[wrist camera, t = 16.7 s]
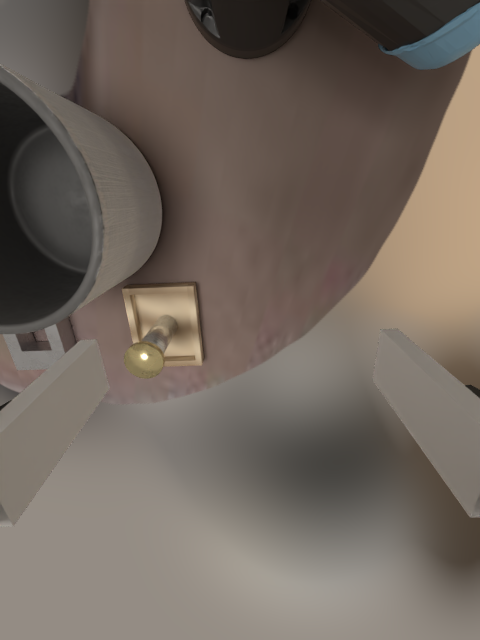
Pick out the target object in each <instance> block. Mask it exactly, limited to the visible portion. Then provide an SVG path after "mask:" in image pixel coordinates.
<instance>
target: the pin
mask: <svg viewBox="0 0 480 640" xmlns="http://www.w3.org/2000/svg"><path fill="white" fill-rule="evenodd" d="M177 327H178V325H177V322H176V320H175V319H174V318H173V317H171V316H169V315H163V316H160V317H159V318H158V319H157V320H156V322H155V323H154V325H153V326H152V327H151V329H150V330H149V331H148V333H147V334H146V335H145V337H144V338H143V339H142V341H140V342H136V343H134V344H133V345H131V346H130V348H129V349H128V350H127V351H126V353H125V356H124V363H125V366H126V368H127V369H128V371H129V372H130V373H132V374H133V375H135V376H137V377H139V378H152V377H155V376H157V375H158V374H159V373H160V372H161V370H162V368H163V366H164V363H165V356H164V353H165V351H166V349H167V347H168V345H169V343H170V341H171V340H172V338H173V336H174V334H175V332H176V330H177Z"/></svg>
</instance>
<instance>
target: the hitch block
mask: <svg viewBox="0 0 480 640" xmlns="http://www.w3.org/2000/svg"><path fill="white" fill-rule="evenodd" d="M44 329H45V331H46V334H47V337H48V340H49V341H39V342H36V340H35V337H34V335H33V332H29V333H22V334H3V336H4V339H5V341H6V343H7V346H8V348H9V351H10V353H11V356H12V358H13V361H14V363H15V366H16V368H17V370H35V369H48V368H49V367H51V366H52V365H53V364H54V363H55V362H56V361H57V360H59V359H60V358H61V357H62V356H63V355H64V354H65V353H67V352H68V351H69V350H70V349H71V348H72V347H73V346H75V345H76V340H75V337H74V334H73V330H72V327H71V324H70V320H69V317H67V318H65V319H64V320H62V321H60V322H58V323H56V324H54V325H52V326H50V327H47V328H44Z"/></svg>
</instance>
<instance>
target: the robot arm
mask: <svg viewBox="0 0 480 640" xmlns="http://www.w3.org/2000/svg"><path fill="white" fill-rule="evenodd" d="M310 1H311V0H185V3H186V6H187V9H188V11H189V14H190V16H191V18H192V20H193V22H194V23H195V25H196V27H197V28H198V30H199V31H200V32H201V34H202V35H203V36H204V37H205V38H206V40H207V41H208V42H209V43H211V44H212V45H213V46H214V47H216V48H217V49H218V50H220V51H222V52H224V53H226V54H228V55H231V56H234V57H238V58H256V57H260V56H264V55H266V54H269V53H271V52H273V51H274V50H276V49H277V48H279V47H280V46H281V45H283V44H284V43H285V42H286V41H287V40H288V39H289V38H290V37H291V36H292V35H293V33H294V32H295V31H296V29H297V28H298V26H299V25H300V23H301V21H302V20H303V18H304V16H305V14H306V12H307V9H308V7H309V4H310ZM320 1H322V2H323V3H324V4H326V5H327V6H328V7H330V8H331V9H332V10H334V11H335V12H336V13H338V14H339V15H340V16H342V17H343V18H345V19H346V20H347V21H349V22H350V23H351V24H353V25H354V26H355V27H357V28H358V29H359V30H361V31H362V32H363V33H365V34H366V35H368V36H369V37H370V38H372V39H373V40H374V41H376V42H377V43H378V47H379V49H380V50H381V51H382V52H384V53H385V54H390V55H395V56H396V57H398V58H400V59H401V60H403V61H404V62H406V63H407V64H409V65H410V66H412V67H414V68H416V69H419V70H424V69H428V70H429V69H436V68H440V67H442V66H445V65H447V64H449V63H451V62H453V61H455V60H457V59H458V58H460V57H462V56H463V55H465V54H466V53H468V52H469V51H471V50H472V49H474V48H475V47H476V46H478V45H479V44H480V0H320ZM372 380H373V382H374V383H375V384H376V385H377V387H378V388H379V390H380V391H381V393H382V394H383V396H384V397H385V398H386V400H387V401H388V403H389V404H390V405H391V407H392V408H393V410H394V411H395V413H396V414H397V415H398V416H399V418H400V420H401V421H402V422H403V424H404V425H405V426H406V428H407V429H408V431H409V432H410V434H411V435H412V436H413V438H414V439H415V441H416V442H417V443H418V445H419V446H420V448H421V449H422V450H423V452H424V453H425V455H426V456H427V457H428V459H429V460H430V462H431V463H432V465H433V466H434V467H435V469H436V470H437V472H438V473H439V474H440V476H441V477H442V479H443V480H444V481H445V483H446V484H447V485H448V487H449V488H450V490H451V491H452V493H453V494H454V495H455V497H456V498H457V500H458V501H459V502H460V504H461V505H462V507H463V508H464V509H465V511H466V512H467V514H468V515H469V516H470V517H480V390H479V389H477V388H475V387H473V386H472V385H463V384H462V383H461V382H460V381H459V380H457V379H456V378H455V377H454V376H453V375H452V374H450V373H449V372H448V371H447V370H446V369H444V368H443V367H442V366H441V365H440V364H439V363H437V362H436V361H435V360H434V359H433V358H431V357H430V356H429V355H428V354H427V353H426V352H424V351H423V350H422V349H421V348H420V347H418V346H417V345H416V344H415V343H414V342H412V341H411V340H410V339H409V338H408V337H406V336H405V335H404V334H403V333H402V332H401V331H399V330H398V329H381V330H380V336H379V342H378V348H377V355H376V360H375V367H374V373H373V379H372ZM109 389H110V387H109V383H108V380H107V376H106V372H105V368H104V365H103V361H102V357H101V353H100V350H99V346H98V342H97V340H80V341H79V342H78V343H77V344H76V345H75V346H73V347H72V348H71V349H70V350H69V351H68V352H67V353H65V354H64V355H63V356H62V357H61V358H60V359H59V360H57V361H56V362H55V363H54V364H53V365H52V366H51V367H49V368H48V369H47V370H46V371H45V372H44V373H43V374H42V375H40V376H39V377H38V378H37V379H36V380H35V381H34V382H32V383H31V384H30V385H29V386H28V387H27V388H26V389H24V390H23V391H22V392H21V393H20V394H19V395H18V396H16V397H15V398H14V399H13V400H11V401H9V402H7V403H5V404H4V405H2V406H0V527H4V526H14V525H15V523H16V522H17V520H18V519H19V518H20V516H21V515H22V513H23V512H24V510H25V509H26V508H27V506H28V505H29V503H30V502H31V501H32V499H33V498H34V496H35V495H36V493H37V492H38V491H39V489H40V488H41V486H42V485H43V483H44V482H45V480H46V479H47V477H48V476H49V475H50V473H51V472H52V470H53V469H54V467H55V466H56V465H57V463H58V461H59V460H60V459H61V458H62V456H63V455H64V453H65V452H66V450H67V449H68V447H69V446H70V445H71V443H72V442H73V440H74V439H75V437H76V436H77V434H78V433H79V432H80V430H81V429H82V427H83V426H84V424H85V423H86V422H87V420H88V419H89V417H90V416H91V414H92V413H93V412H94V410H95V409H96V407H97V406H98V404H99V403H100V402H101V400H102V399H103V397H104V396H105V394H106V393H107V392H108V390H109Z"/></svg>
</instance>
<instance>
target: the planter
mask: <svg viewBox="0 0 480 640" xmlns="http://www.w3.org/2000/svg"><path fill="white" fill-rule="evenodd" d="M161 226H162V203H161V197H160V192H159V189H158V185H157V182H156V180H155V177H154V175H153V172H152V170H151V168H150V166H149V165H148V163H147V161H146V160H145V158H144V156H143V155H142V154H141V152H140V151H139V150H138V148H137V147H136V146H135V145H134V144H133V143H132V141H131V140H130V139H129V138H128V137H127V136H126V135H124V134H123V133H122V132H121V131H120V130H119V129H117V128H116V127H115V126H114V125H112V124H111V123H109V122H108V121H106V120H105V119H103V118H101V117H100V116H98V115H96V114H94V113H92V112H90V111H88V110H87V109H85V108H83V107H81V106H79V105H77V104H75V103H73V102H71V101H69V100H67V99H65V98H63V97H61V96H60V95H58V94H56V93H54V92H52V91H50V90H48V89H46V88H44V87H42V86H41V85H38V84H37V83H35V82H33V81H31V80H29V79H28V78H25V77H24V76H22V75H20V74H18V73H16V72H15V71H13V70H11V69H9V68H7V67H5V66H4V65H2V64H0V334H22V333H29V332H34V331H38V330H41V329H44V328H47V327H50V326H52V325H54V324H56V323H58V322H60V321H62V320H64V319H65V318H67V317H68V316H70V315H71V314H73V313H74V312H76V311H77V310H79V309H80V308H82V307H83V306H85V305H86V304H88V303H89V302H91V301H92V300H94V299H95V298H97V297H98V296H100V295H101V294H103V293H105V292H106V291H108V290H109V289H111V288H112V287H114V286H116V285H117V284H119V283H120V282H122V281H123V280H125V279H126V278H128V277H130V276H131V275H132V274H134V273H135V272H136V271H138V270H139V269H140V268H141V267H142V266H143V265H144V264H145V262H146V261H147V260H148V259H149V257H150V256H151V254H152V252H153V251H154V249H155V247H156V244H157V242H158V239H159V235H160V231H161Z"/></svg>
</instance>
